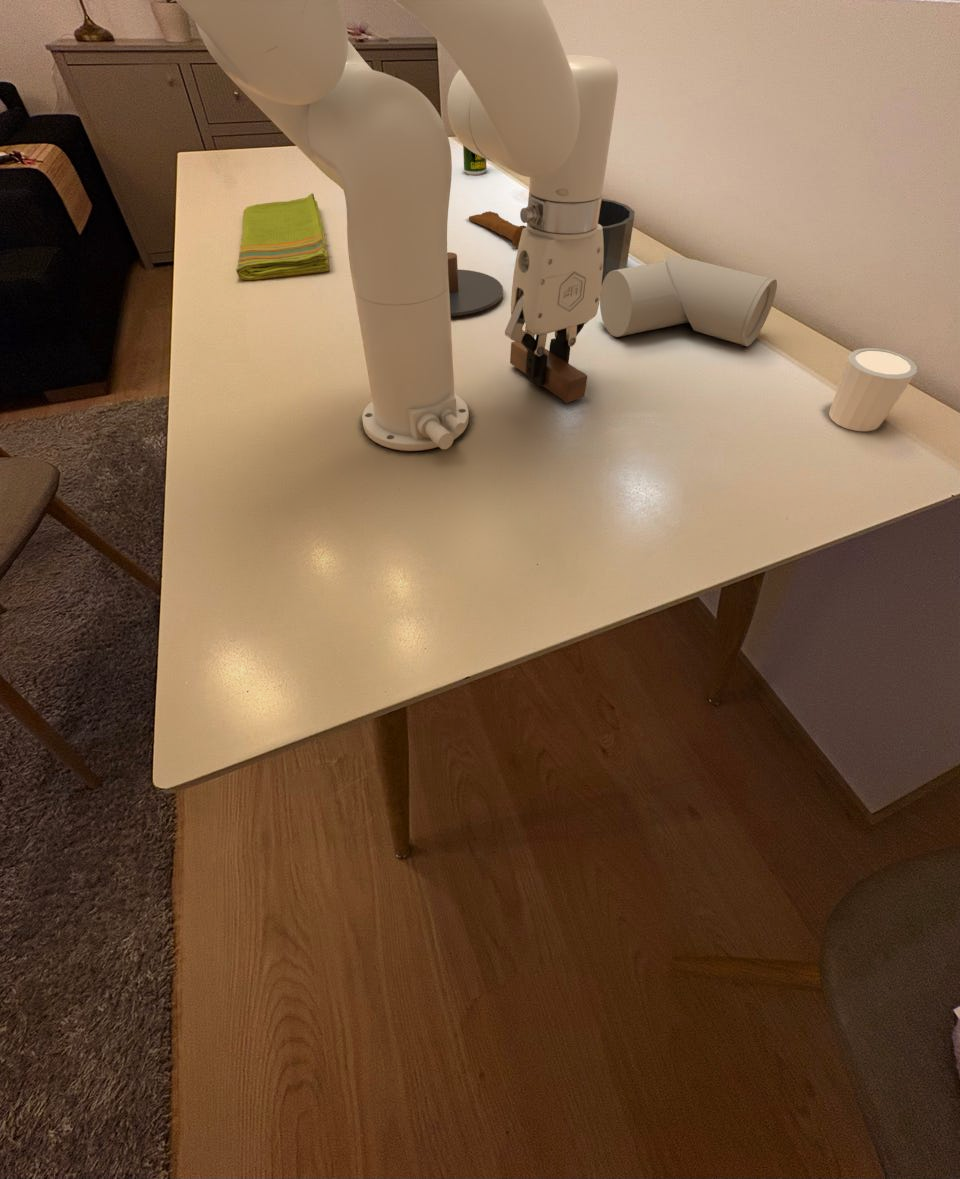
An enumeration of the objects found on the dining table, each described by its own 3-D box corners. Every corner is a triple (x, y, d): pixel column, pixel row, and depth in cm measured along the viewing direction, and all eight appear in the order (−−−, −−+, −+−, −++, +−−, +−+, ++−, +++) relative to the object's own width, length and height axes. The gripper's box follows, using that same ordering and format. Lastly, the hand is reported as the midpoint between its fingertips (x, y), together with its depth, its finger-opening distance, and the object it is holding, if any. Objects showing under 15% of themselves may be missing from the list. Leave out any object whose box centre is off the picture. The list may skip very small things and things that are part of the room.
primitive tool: (467, 219, 120) (467, 199, 117) (492, 215, 121) (492, 195, 119) (513, 250, 108) (514, 229, 106) (540, 245, 110) (541, 224, 107)
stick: (584, 396, 74) (588, 375, 72) (567, 403, 73) (569, 381, 71) (526, 357, 81) (528, 337, 78) (509, 363, 79) (510, 342, 77)
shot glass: (834, 396, 74) (860, 341, 69) (893, 415, 71) (925, 358, 66) (814, 420, 71) (840, 364, 65) (876, 441, 68) (908, 384, 62)
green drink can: (459, 171, 143) (457, 107, 134) (479, 167, 145) (479, 104, 136) (470, 176, 140) (468, 111, 131) (490, 173, 142) (490, 109, 133)
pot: (645, 272, 101) (655, 215, 94) (572, 295, 95) (578, 236, 89) (584, 245, 109) (590, 191, 103) (515, 264, 104) (516, 208, 98)
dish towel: (238, 283, 100) (232, 262, 98) (244, 215, 124) (239, 197, 121) (331, 273, 103) (327, 252, 100) (319, 208, 126) (316, 191, 123)
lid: (523, 301, 94) (525, 259, 89) (432, 329, 88) (428, 286, 83) (466, 268, 103) (465, 229, 99) (380, 291, 97) (374, 251, 93)
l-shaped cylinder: (704, 285, 94) (590, 307, 89) (733, 215, 84) (608, 235, 80) (769, 359, 86) (647, 387, 81) (809, 291, 76) (674, 317, 72)
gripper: (521, 236, 58) (511, 408, 71) (644, 211, 64) (613, 373, 77) (478, 215, 62) (476, 381, 75) (598, 193, 68) (576, 350, 82)
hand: (546, 376), depth 76 cm, fingers closed on stick, 2 cm apart
